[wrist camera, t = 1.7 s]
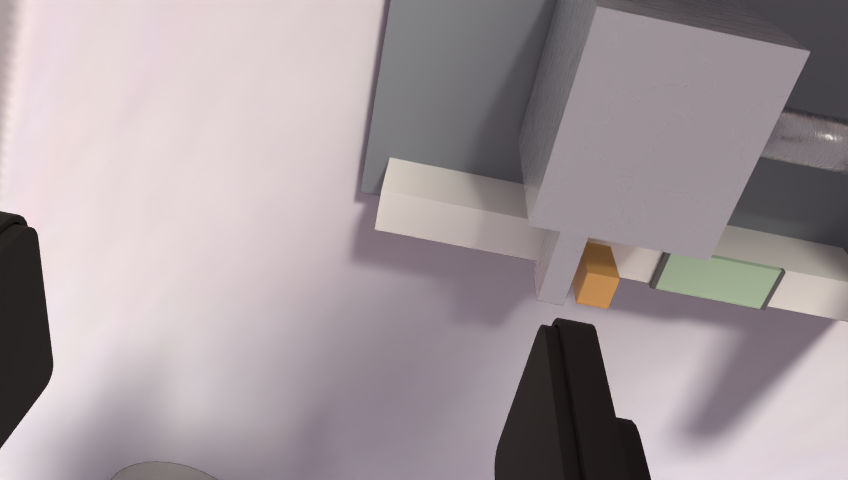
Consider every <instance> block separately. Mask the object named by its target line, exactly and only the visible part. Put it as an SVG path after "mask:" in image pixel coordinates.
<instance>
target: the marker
mask: <svg viewBox="0 0 848 480" xmlns="http://www.w3.org/2000/svg"><path fill="white" fill-rule="evenodd" d="M619 281H620V276H619V273H618V270H617V266H616V263H615V260H614V256H613V253H612V250H611V246H606V245H601V244H596V243H590V242H587V243H586V245H585V248H584V251H583V253H582V256H581V259H580V262H579V264H578V267H577V270H576V272H575V275H574V278H573V281H572V284H573V289H574V294H575V299H576V303H579V304H584V305H589V306H594V307H599V308H605V309H608V307H609V305H610V303H611V300H612V298H613V295H614V293H615V290H616V288H617V286H618V283H619Z"/></svg>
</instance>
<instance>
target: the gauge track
mask: <svg viewBox="0 0 848 480" xmlns="http://www.w3.org/2000/svg"><path fill="white" fill-rule="evenodd" d="M741 1H742V2H744V3H745V4H746V5H748V6H749V7H751V8H752V9H753V10H755V11H756V12H757V13H759V14H760V15H761V16H763V17H764V18H766V19H767V20H768V21H770V22H771V23H772V24H774V25H775V26H776V27H778V28H779V29H781V30H782V31H783V32H785V33H786V34H787V35H789V36H790V37H792V38H793V39H794V40H796V41H797V42H798V43H800V44H801V45H802V46H804V47H805V48H807V49H808V50H809V51H811V52H810V54H809V56H808V58H807V60H806V62H805V64H804V67H803V69H802V71H801V73H800V75H799V77H798V79H797V81H796V83H795V85H794V87H793V89H792V91H791V93H790V95H789V97H788V99H787V101H786V104H785V106H786V107H790V108H795V109H800V110H805V111H810V112H815V113H819V114H824V115H829V116H834V117H839V118H843V119H848V0H741ZM556 2H557V0H390V7H389V13H388V19H387V26H386V32H385V38H384V44H383V51H382V57H381V63H380V70H379V76H378V82H377V89H376V95H375V101H374V108H373V114H372V120H371V127H370V133H369V139H368V145H367V152H366V158H365V164H364V171H363V177H362V183H361V190H360V192H363V193H368V194H373V195H378V196H380V201H379V207H378V212H377V218H376V224H375V230H380V231H385V232H390V233H395V234H400V235H406V236H411V237H416V238H421V239H426V240H431V241H436V242H441V243H447V244H452V245H457V246H462V247H467V248H472V249H477V250H482V251H488V252H493V253H498V254H503V255H508V256H513V257H518V258H523V259H529V260H534V261H537V259H538V255H539V252H540V249H541V246H542V243H543V240H544V237H545V234H546V231H547V229H544V228H539V227H534V226H529V222H528V214H527V206H526V198H525V190H524V181H523V173H522V165H521V157H520V149H519V141H518V138H519V134H520V131H521V127H522V123H523V120H524V116H525V113H526V109H527V106H528V102H529V99H530V95H531V91H532V88H533V84H534V81H535V77H536V74H537V70H538V67H539V63H540V59H541V56H542V52H543V49H544V45H545V42H546V38H547V34H548V31H549V27H550V24H551V20H552V17H553V13H554V10H555V6H556ZM587 242H590V243H596V244H601V245H606V246H611V250H612V253H613V256H614V260H615V263H616V266H617V270H618V273H619V276H620V277H621V278H626V279H631V280H636V281H641V282H646V283H649V285H650V288H654V289H660V290H665V291H670V292H675V293H680V294H686V295H691V296H696V297H701V298H706V299H711V300H716V301H721V302H727V303H732V304H737V305H742V306H747V307H752V308H757V309H762V310H765V309H766V307H767V306H769V307H775V308H780V309H785V310H790V311H795V312H800V313H805V314H810V315H816V316H821V317H826V318H831V319H836V320H841V321H846V322H848V174H843V173H838V172H833V171H828V170H823V169H818V168H813V167H808V166H804V165H799V164H794V163H789V162H784V161H779V160H774V159H769V158H764V157H759V159H758V161H757V163H756V165H755V167H754V169H753V171H752V173H751V176H750V178H749V180H748V182H747V184H746V186H745V188H744V190H743V192H742V194H741V196H740V198H739V200H738V202H737V204H736V206H735V208H734V210H733V213H732V215H731V217H730V219H729V221H728V223H727V225H726V227H725V229H724V231H723V233H722V235H721V237H720V239H719V241H718V243H717V245H716V247H715V250H714V252H713V254H712V256H711V258H710V260H709V261H706V260H701V259H696V258H691V257H686V256H681V255H676V254H671V253H666V252H661V251H656V250H651V249H645V248H640V247H635V246H630V245H625V244H620V243H615V242H610V241H605V240H600V239H595V238H590V237H588V240H587Z"/></svg>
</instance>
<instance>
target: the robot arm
mask: <svg viewBox="0 0 848 480" xmlns="http://www.w3.org/2000/svg"><path fill="white" fill-rule="evenodd" d="M52 371H53V356H52V348H51V340H50V331H49V323H48V315H47V307H46V299H45V290H44V282H43V274H42V266H41V258H40V249H39V241H38V235H37V232H36V230H35V229H34V228H32V227H28V225H27V222H26V220H25V219H24V217H22V216H20V215H17V214H12V213H6V212H1V211H0V448H1V447H2V446H3V444H4V443H5V442H6V440H7V439H8V438H9V436H10V435H11V434H12V432H13V431H14V430H15V428H16V427H17V426H18V424H19V423H20V421H21V420H22V419H23V417H24V416H25V415H26V413H27V412H28V411H29V409H30V408H31V407H32V405H33V404H34V403H35V401H36V400H37V399H38V397H39V396H40V395H41V393H42V392H43V391H44V389H45V388H46V386H47V385H48V383H49V380H50V378H51V375H52ZM495 480H651V477H650V473H649V469H648V466H647V462H646V458H645V454H644V450H643V446H642V442H641V439H640V435H639V432H638V429H637V427H636V425H635V424H634V422H633V421H632V420H628V419H622V418H617V417H616V415H615V411H614V407H613V402H612V398H611V393H610V389H609V385H608V380H607V376H606V372H605V367H604V363H603V358H602V354H601V350H600V345H599V341H598V337H597V332H596V329H595V326H593V325H592V324H587V323H582V322H577V321H572V320H566V319H561V318H556V319H555V320H554V322H553V324H552V326H547V325H541V326H540V328H539V330H538V332H537V335H536V338H535V340H534V343H533V346H532V349H531V352H530V355H529V358H528V360H527V363H526V366H525V369H524V372H523V375H522V377H521V380H520V383H519V386H518V389H517V392H516V395H515V397H514V400H513V403H512V406H511V409H510V412H509V414H508V417H507V420H506V423H505V426H504V429H503V431H502V434H501V437H500V440H499V443H498V446H497V451H496V456H495Z"/></svg>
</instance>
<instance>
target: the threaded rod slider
mask: <svg viewBox="0 0 848 480" xmlns="http://www.w3.org/2000/svg"><path fill="white" fill-rule="evenodd" d="M810 52H811V51H809V50H808V49H807V48H805V47H804V46H802V45H801V44H800V43H798V42H797V41H796V40H794V39H793V38H792V37H790V36H789V35H787V34H786V33H785V32H783V31H782V30H781V29H779V28H778V27H776V26H775V25H774V24H772V23H771V22H770V21H768V20H767V19H766V18H764V17H763V16H761V15H760V14H759V13H757V12H756V11H755V10H753V9H752V8H751V7H749V6H748V5H746V4H745V3H744V2H742V1H741V0H557V2H556V6H555V10H554V13H553V17H552V20H551V24H550V27H549V31H548V34H547V38H546V42H545V45H544V49H543V52H542V56H541V59H540V63H539V67H538V70H537V74H536V77H535V81H534V84H533V88H532V91H531V95H530V99H529V102H528V106H527V109H526V113H525V116H524V120H523V123H522V127H521V131H520V134H519V138H518V141H519V149H520V157H521V165H522V173H523V181H524V190H525V198H526V206H527V214H528V222H529V226H534V227H539V228H544V229H547V231H546V234H545V237H544V240H543V243H542V246H541V249H540V252H539V255H538V259H537V262H536V265H535V268H534V279H535V288H536V296H537V301H541V302H546V303H551V304H557V305H562V306H563V305H564V302H565V300H566V297H567V294H568V291H569V289H570V286H571V283H572V281H573V278H574V275H575V272H576V270H577V267H578V264H579V262H580V259H581V256H582V253H583V251H584V248H585V245H586V243H587V240H588V237H590V238H595V239H600V240H605V241H610V242H615V243H620V244H625V245H630V246H635V247H640V248H645V249H651V250H656V251H661V252H666V253H671V254H676V255H681V256H686V257H691V258H696V259H701V260H706V261H709V260H710V258H711V256H712V254H713V252H714V250H715V247H716V245H717V243H718V241H719V239H720V237H721V235H722V233H723V231H724V229H725V227H726V225H727V223H728V221H729V219H730V217H731V215H732V213H733V210H734V208H735V206H736V204H737V202H738V200H739V198H740V196H741V194H742V192H743V190H744V188H745V186H746V184H747V182H748V180H749V178H750V176H751V173H752V171H753V169H754V167H755V165H756V163H757V161H758V159H759V157H764V158H769V159H774V160H779V161H784V162H789V163H794V164H799V165H804V166H808V167H813V168H818V169H823V170H828V171H833V172H838V173H843V174H848V119H843V118H839V117H834V116H829V115H824V114H819V113H815V112H810V111H805V110H800V109H795V108H790V107H786V106H785V104H786V101H787V99H788V97H789V95H790V93H791V91H792V89H793V87H794V85H795V83H796V81H797V79H798V77H799V75H800V73H801V71H802V69H803V67H804V64H805V62H806V60H807V58H808V56H809V54H810Z"/></svg>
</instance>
